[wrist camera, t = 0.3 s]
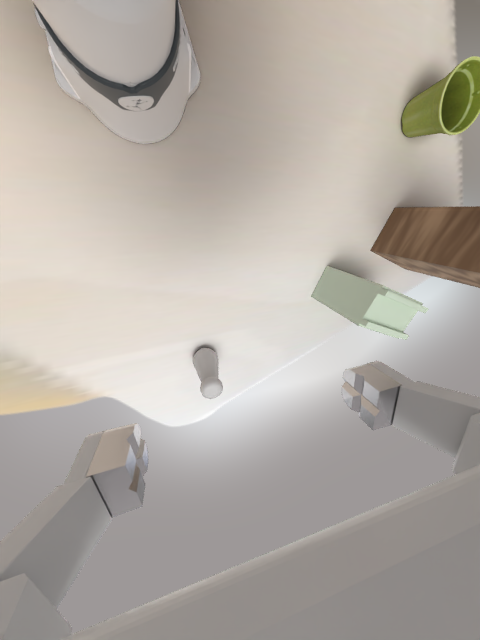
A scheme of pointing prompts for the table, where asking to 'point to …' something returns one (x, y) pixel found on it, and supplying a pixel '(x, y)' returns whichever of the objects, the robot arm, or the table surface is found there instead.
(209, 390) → the salt shaker
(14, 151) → the table surface
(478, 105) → the plant pot
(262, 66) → the table surface
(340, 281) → the block
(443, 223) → the walnut stand
